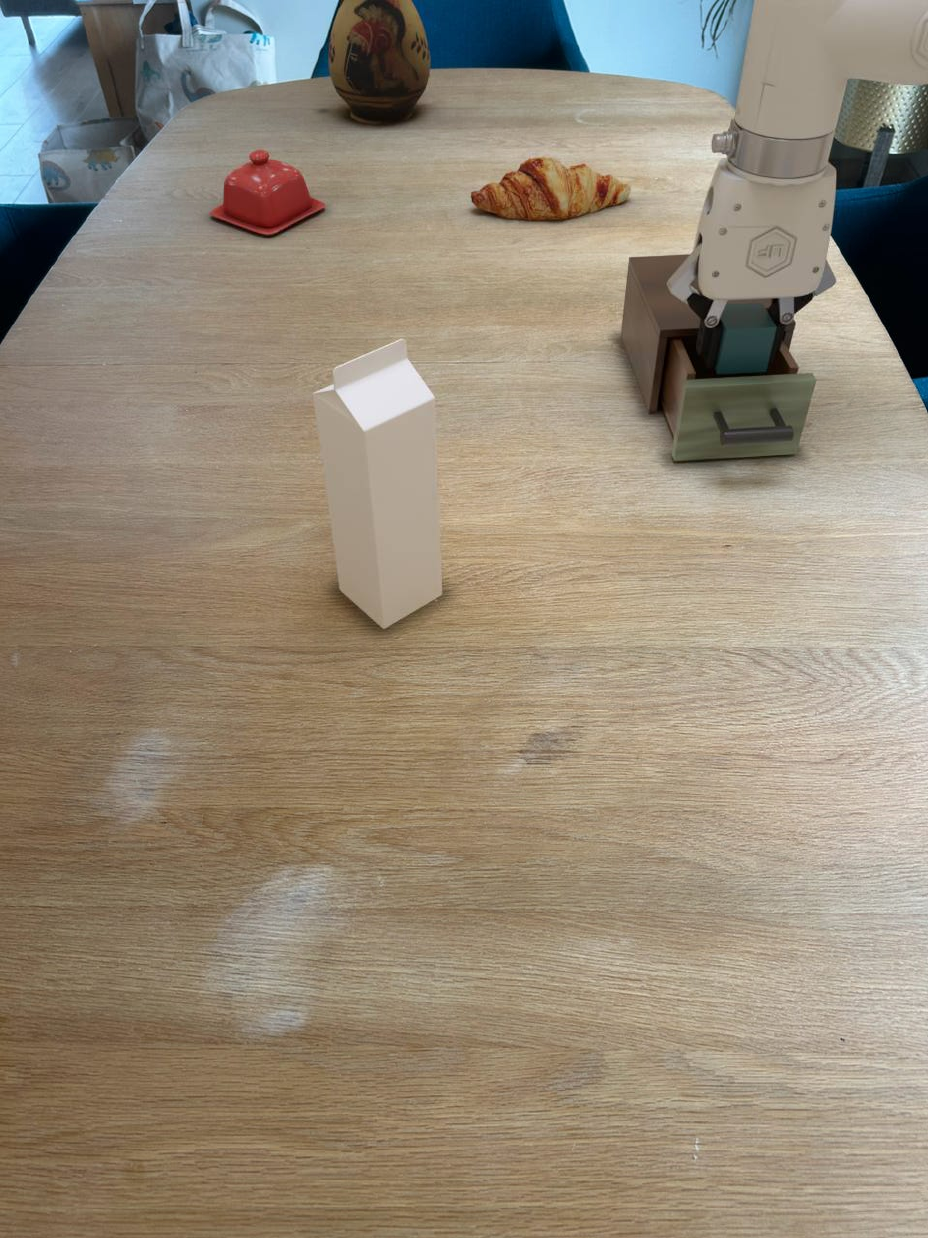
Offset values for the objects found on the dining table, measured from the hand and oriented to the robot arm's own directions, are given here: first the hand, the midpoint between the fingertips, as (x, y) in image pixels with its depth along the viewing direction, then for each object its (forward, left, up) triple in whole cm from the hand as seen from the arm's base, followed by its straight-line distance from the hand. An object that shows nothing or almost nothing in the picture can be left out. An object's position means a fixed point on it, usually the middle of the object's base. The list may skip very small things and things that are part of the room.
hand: (735, 356), depth 89 cm
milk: (+32, +19, -9) cm, 38 cm away
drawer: (0, 0, -8) cm, 8 cm away
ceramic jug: (+31, -90, -9) cm, 95 cm away
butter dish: (+46, -54, -9) cm, 71 cm away
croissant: (+9, -52, -9) cm, 53 cm away
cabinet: (0, -11, -9) cm, 14 cm away
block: (0, 0, 0) cm, 0 cm away
